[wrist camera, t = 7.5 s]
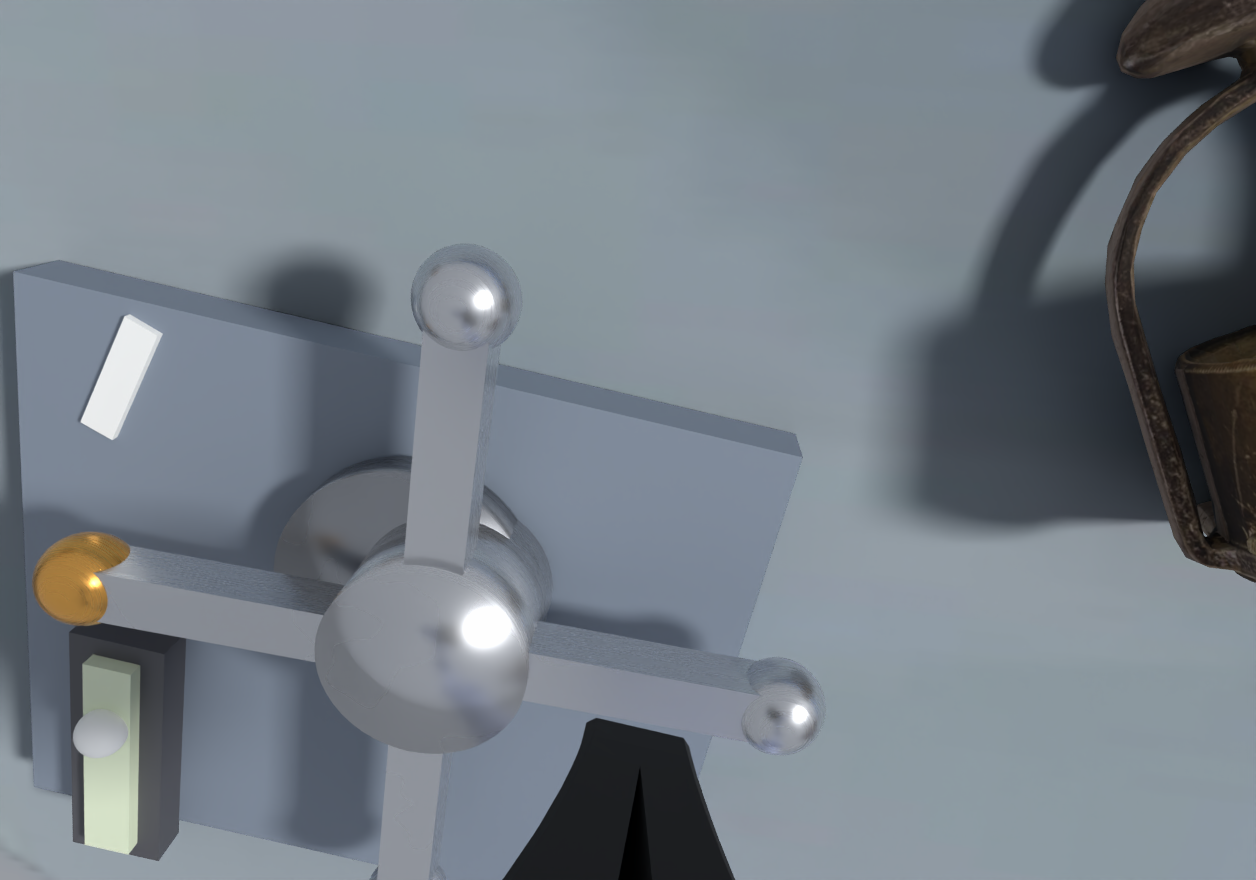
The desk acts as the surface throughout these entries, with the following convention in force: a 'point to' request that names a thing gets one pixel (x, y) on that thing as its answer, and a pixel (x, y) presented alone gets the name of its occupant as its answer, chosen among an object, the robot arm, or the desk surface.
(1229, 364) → the brown looped piece
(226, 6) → the desk surface
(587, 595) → the grey panel with crank
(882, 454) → the desk surface
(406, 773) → the capstan
